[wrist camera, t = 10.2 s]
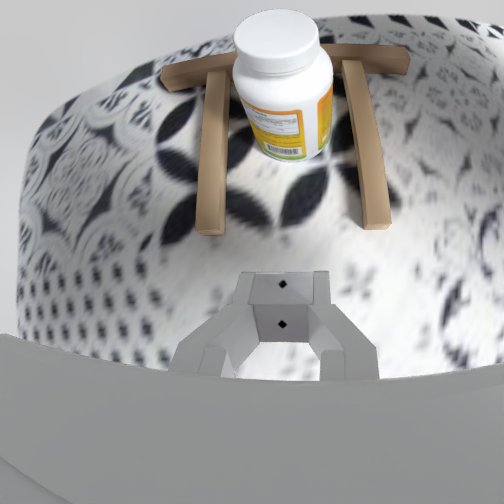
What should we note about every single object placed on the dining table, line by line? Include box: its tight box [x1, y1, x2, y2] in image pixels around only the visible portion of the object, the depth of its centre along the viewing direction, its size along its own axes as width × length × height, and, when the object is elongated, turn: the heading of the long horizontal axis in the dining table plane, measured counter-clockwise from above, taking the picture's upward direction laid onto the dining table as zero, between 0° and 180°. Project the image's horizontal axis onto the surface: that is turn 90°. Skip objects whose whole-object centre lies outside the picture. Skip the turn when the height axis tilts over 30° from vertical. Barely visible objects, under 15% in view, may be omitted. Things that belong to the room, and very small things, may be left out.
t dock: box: [160, 44, 410, 235], centre depth 20 cm, size 20×14×2 cm
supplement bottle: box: [233, 9, 333, 162], centre depth 16 cm, size 5×5×10 cm
